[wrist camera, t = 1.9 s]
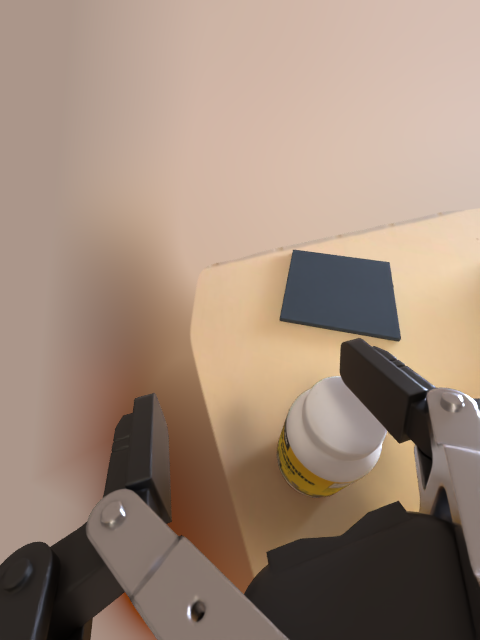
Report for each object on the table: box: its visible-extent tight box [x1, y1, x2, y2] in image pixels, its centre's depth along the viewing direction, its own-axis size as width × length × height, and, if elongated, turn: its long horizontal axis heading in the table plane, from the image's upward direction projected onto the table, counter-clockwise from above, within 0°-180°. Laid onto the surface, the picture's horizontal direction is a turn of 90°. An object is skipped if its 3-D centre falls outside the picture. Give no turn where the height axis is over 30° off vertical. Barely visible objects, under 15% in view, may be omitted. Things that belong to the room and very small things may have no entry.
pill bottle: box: [277, 376, 387, 498], centre depth 21 cm, size 6×6×11 cm
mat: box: [280, 250, 401, 341], centre depth 38 cm, size 14×14×1 cm
